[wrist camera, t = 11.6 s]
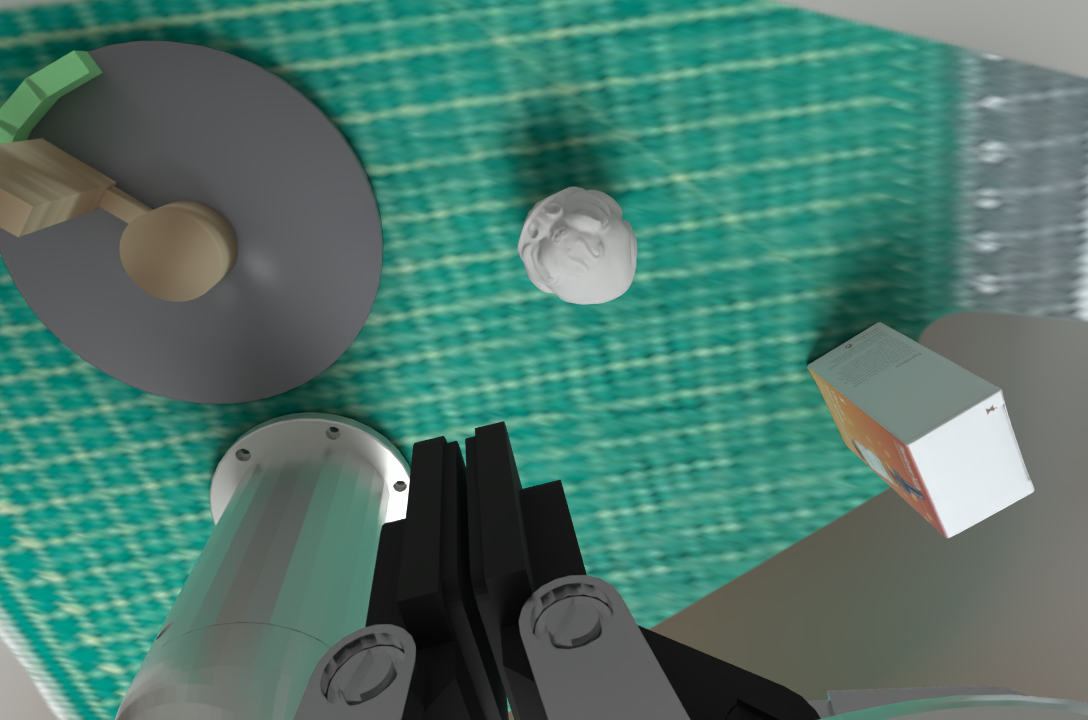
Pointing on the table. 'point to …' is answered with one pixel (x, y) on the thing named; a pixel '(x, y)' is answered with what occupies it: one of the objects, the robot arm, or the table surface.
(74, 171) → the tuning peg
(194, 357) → the dial face
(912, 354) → the small box
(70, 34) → the table surface
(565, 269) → the grey rounded lump
